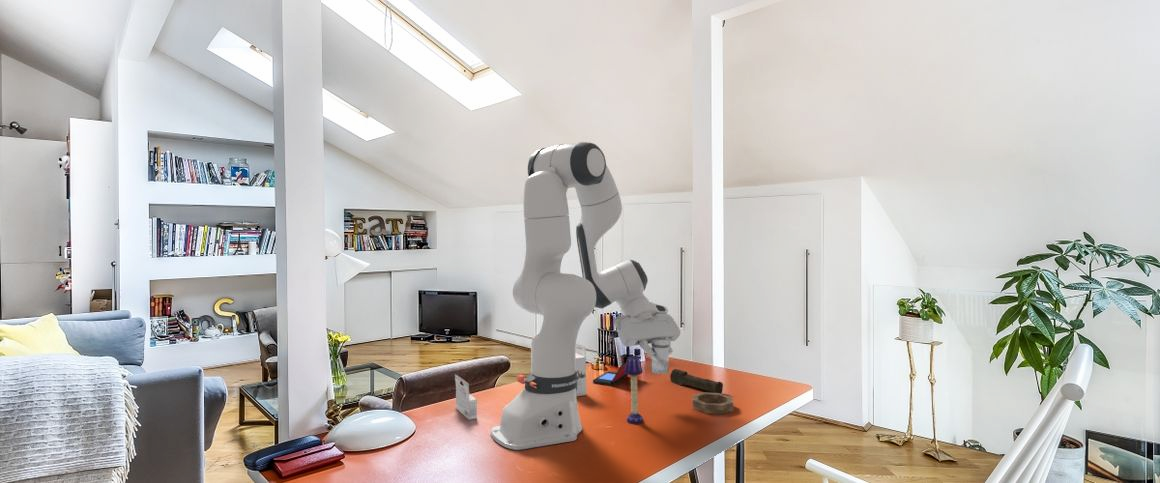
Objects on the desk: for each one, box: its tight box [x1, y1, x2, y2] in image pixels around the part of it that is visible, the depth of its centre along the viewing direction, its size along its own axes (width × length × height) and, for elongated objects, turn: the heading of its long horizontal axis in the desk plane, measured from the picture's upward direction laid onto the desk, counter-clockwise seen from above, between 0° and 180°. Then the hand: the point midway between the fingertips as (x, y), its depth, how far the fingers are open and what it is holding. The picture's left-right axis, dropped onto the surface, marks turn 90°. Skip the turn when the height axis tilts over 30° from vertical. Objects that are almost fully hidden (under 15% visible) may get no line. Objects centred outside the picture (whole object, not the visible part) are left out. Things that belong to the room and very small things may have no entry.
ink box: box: [575, 342, 587, 398], centre depth 159 cm, size 8×5×15 cm, turn 26°
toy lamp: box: [625, 355, 644, 425], centre depth 135 cm, size 5×5×17 cm
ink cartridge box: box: [454, 374, 478, 421], centre depth 141 cm, size 2×11×10 cm, turn 32°
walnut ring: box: [692, 391, 734, 415], centre depth 145 cm, size 11×11×2 cm
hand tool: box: [669, 368, 724, 394], centre depth 164 cm, size 19×4×5 cm, turn 39°
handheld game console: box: [592, 362, 629, 387], centre depth 172 cm, size 12×11×7 cm
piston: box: [650, 338, 670, 375], centre depth 146 cm, size 5×5×9 cm
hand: (661, 354), depth 146 cm, fingers closed on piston, 5 cm apart
